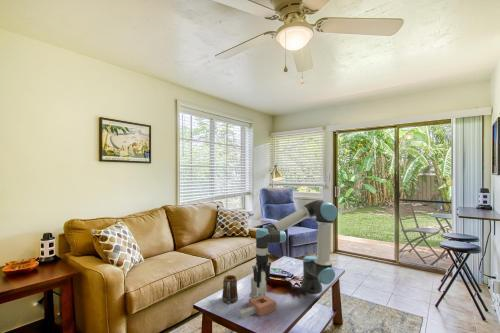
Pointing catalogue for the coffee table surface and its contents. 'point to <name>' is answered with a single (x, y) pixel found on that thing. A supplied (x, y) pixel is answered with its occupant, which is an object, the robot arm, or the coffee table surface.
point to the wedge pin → (262, 284)
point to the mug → (230, 289)
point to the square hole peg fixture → (257, 303)
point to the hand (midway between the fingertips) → (261, 291)
